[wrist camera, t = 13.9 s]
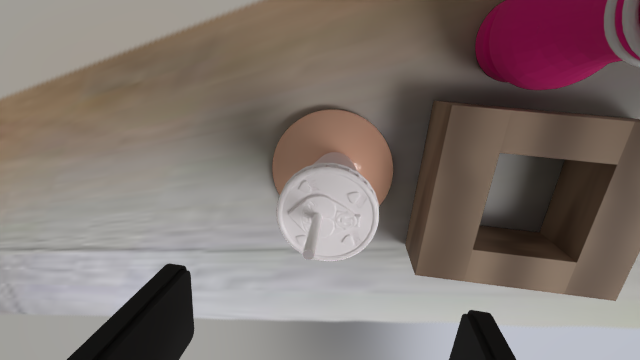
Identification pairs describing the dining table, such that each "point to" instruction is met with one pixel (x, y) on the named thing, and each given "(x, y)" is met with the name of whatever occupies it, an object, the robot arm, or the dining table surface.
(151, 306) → the robot arm
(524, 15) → the pepper mill
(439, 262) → the bottle holder
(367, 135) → the tan round disc
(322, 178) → the smoothie
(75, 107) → the dining table surface
